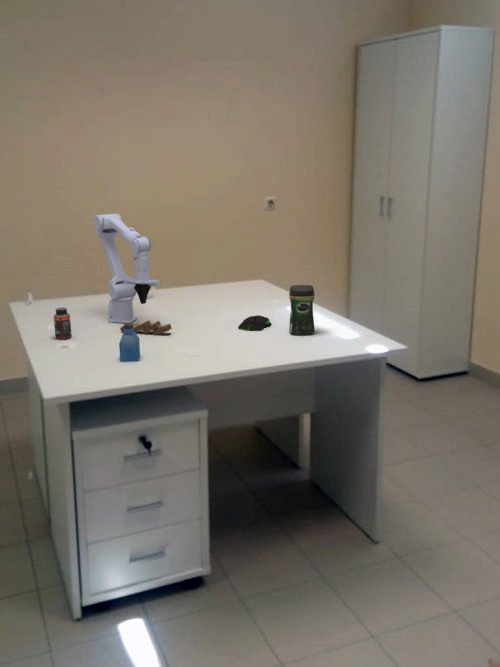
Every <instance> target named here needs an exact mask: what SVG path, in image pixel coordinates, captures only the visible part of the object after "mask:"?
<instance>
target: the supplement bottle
mask: <svg viewBox="0 0 500 667" xmlns="http://www.w3.org/2000/svg"><path fill="white" fill-rule="evenodd" d="M53 323H54V324H53V326H54V337H55V338H56V339H57V340H63V341H64V340H69V339H70V338H72V326H71V325H72V324H71V315H70V313H68V308H67V307H57V308H55V314H54V315H53Z"/></svg>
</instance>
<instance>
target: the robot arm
mask: <svg viewBox="0 0 500 667" xmlns="http://www.w3.org/2000/svg"><path fill="white" fill-rule="evenodd" d="M93 227H94V231H95V233H96V236H97V237H98V238H99V239H100V243H101V245H102V246H101V247H102V249H103V253H104V256H105V258H106V261H107V265H108V268H109V272H110V274H111V277H112V278H111V279H110V281H108V285H107V286H108V292H109V293H108V294H109V296H110V298H111V299H110V300H109V301H108V304H107V305H108V306H107V310H108V321H107V322H108V323H119V324H120V323H121V324H126V323H132V322H134V321H137V320H138V317H134V307H133V306H134V305H133V303H134V302H133V300H134V299H135V296H136V295H138V298H139V302H140V304H142V305H145V304H146V303H147V298H148V295H149V292H150V290H151V288H152V286H156V287H160V286H161V284H162V283H161V280H158V279H153V278H152V279H150V278H151V276H150V259H149V258H150V254H149V252H150V251H151V250H152V241H151V239H150V238H149V237H148V236H142V235H141V234H140V233H139V232H137V231H136V230H135V228H134V227H128V226H127V225H126V224H125V223H124V222H123V218H122V216H121V215H120V214H119V213H107V214H96V215H95V216H94V219H93ZM118 233H119V234H120V235H121V238H122V240H123V241H124V242H125V243H126V244H127V245H129V248H130V252H131V256H132V258H133V269H134V270H133V272H134V278H132V277H131V276H129V275H127V274H125V271H124V268H123V265H122V261H121V258H120V255H119V252H118V249H117V246H116V243H115V242H116V241H115V239H114V238H115V237H117V236H118Z"/></svg>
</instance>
